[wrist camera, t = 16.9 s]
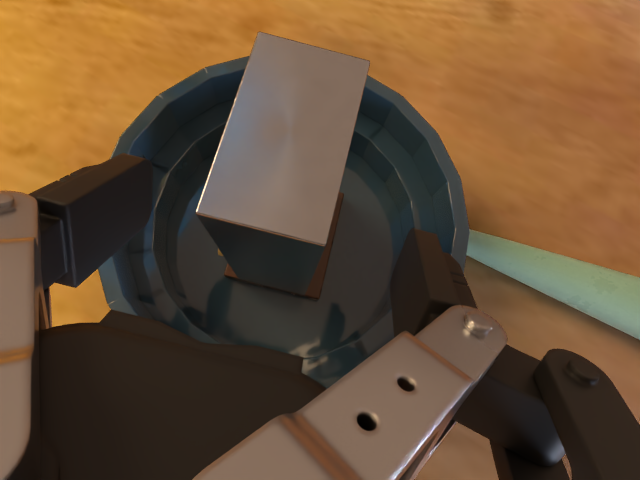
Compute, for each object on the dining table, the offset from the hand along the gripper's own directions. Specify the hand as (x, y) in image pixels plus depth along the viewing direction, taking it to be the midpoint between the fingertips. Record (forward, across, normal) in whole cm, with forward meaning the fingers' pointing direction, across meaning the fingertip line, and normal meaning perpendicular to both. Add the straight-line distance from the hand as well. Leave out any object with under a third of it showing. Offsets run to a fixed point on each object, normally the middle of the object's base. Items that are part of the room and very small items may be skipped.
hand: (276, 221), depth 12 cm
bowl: (+8, 0, +6) cm, 10 cm away
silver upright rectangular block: (+8, 0, +5) cm, 9 cm away
